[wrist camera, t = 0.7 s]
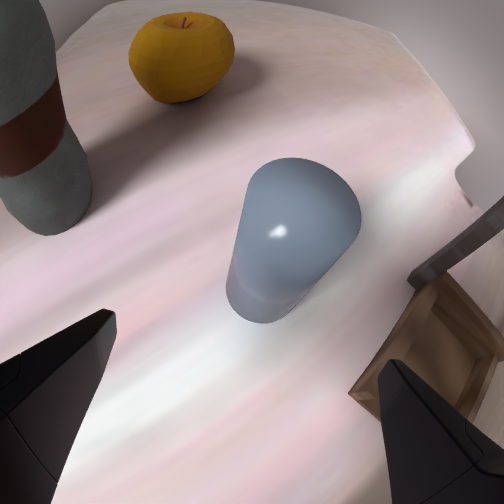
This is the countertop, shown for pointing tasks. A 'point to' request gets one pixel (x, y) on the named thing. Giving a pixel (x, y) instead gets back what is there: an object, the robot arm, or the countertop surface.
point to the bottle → (37, 127)
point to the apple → (181, 55)
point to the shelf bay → (443, 329)
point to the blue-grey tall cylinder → (288, 236)
